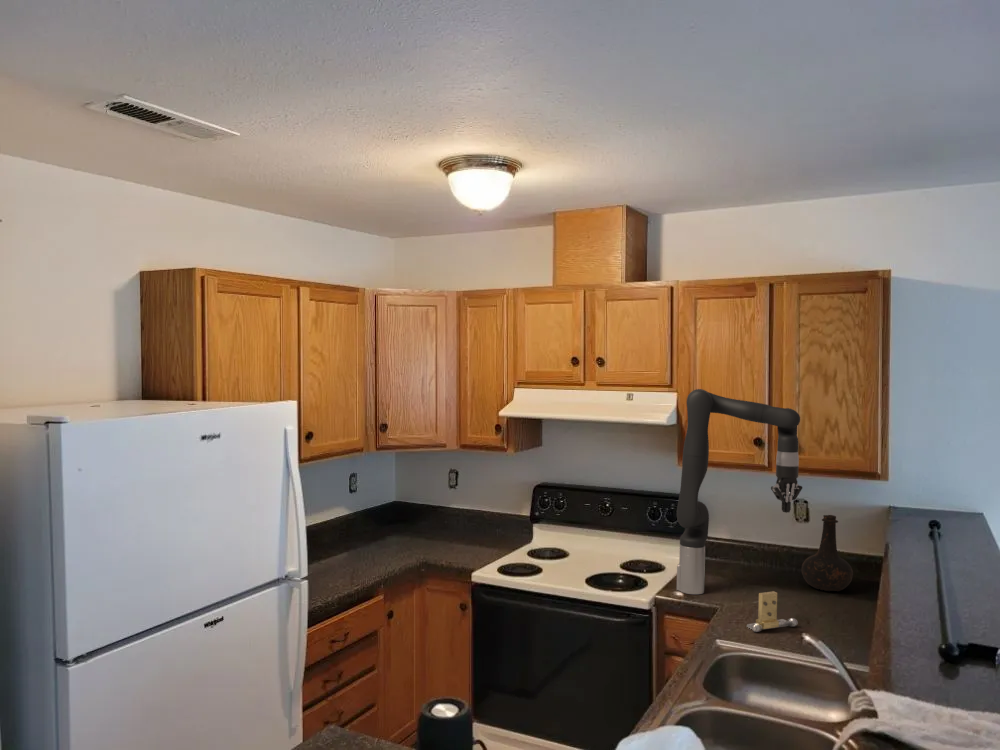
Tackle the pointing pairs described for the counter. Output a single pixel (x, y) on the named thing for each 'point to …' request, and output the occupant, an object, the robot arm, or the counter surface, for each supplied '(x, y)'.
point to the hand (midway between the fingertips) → (786, 512)
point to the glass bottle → (827, 562)
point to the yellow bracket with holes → (767, 610)
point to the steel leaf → (782, 623)
